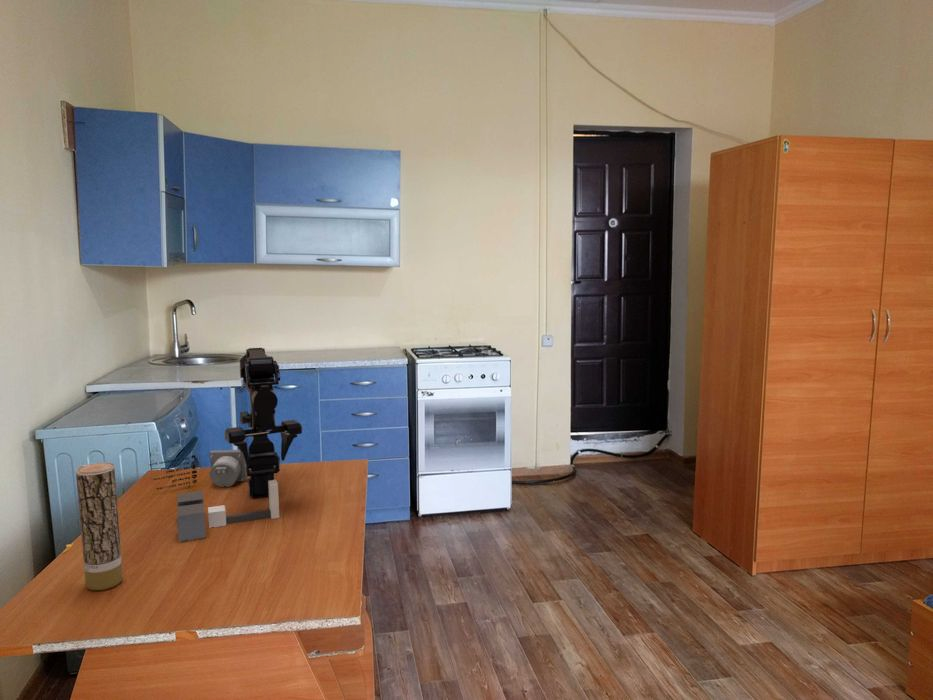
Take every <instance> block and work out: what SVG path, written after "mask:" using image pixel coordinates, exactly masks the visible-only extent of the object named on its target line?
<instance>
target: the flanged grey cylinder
mask: <svg viewBox="0 0 933 700" xmlns="http://www.w3.org/2000/svg"><path fill="white" fill-rule="evenodd" d="M208 453H209V462H210V466H211V467H210V471H209V479H210V481H211V483H212V484H214V485H216V486H217V487H220V488H229V487H231V486H233V485H234V484H235V483H236V482H248V477H247V473H246V464H245V461H244V459H243V456H242V454H241V451H240V450H239V449H228V450H227V449H226V450H225V449H224V450H223V449H222V450H221V449H217V450H213V449H212V450H211V451H209V452H208ZM190 457H191V460H193V462H191V464H192V466H191V467H192V471H191V472H190V471H188V472H186V473H185V472H183V473H177V474H172V475H168V476H161V477H157V478H153V481H156V480H157V481H158V480H162V479H166V478H168V479H170V478H173V477H176V476H178V477H179V476H184V475H188V474H189V475H190V474H191V477H190V476H188V477H187V476H185V477H184V478H181V477H180V478H178V479H177V478H175V479H174V480H171V482H172V483H174V482H177V481H184V480H190V479H191V478H192V479H193V480H192V483H193V484H196V483H197V482H198V481H197V480H196V478H197V477H198V475H197V474H198V473H197V472H198V471H197V469H196V464H194V463H195V461H196V455H194V454H192V455H191V456H190ZM190 457H183V458H181V460H182V461H185V460H189V459H190ZM179 461H180V458H178V459H174V460H173V459H171V460H165V461H161V462H160V461H159V465H160V464H161V465H163V464H165V463H166V464H169V463H173V462H179ZM189 464H190V461H187V462H183V463H182V462H180V463H177V464H173V467H179V466H182V465H184V466H185V465H189ZM154 465H156V466H157V465H158V462H156V461H155V463H149V467H152V466H154ZM182 470H190V467H188V466H186V467H183V468H176V469H172V473H173V472H174V473H175V471H176V472H178V471H182ZM169 473H171V470H170V469H169V470H166V474H169ZM185 484H186V485H187V484H189V485H187V486H186V488H191V485H190V484H191V481H188V482H184V483H183V482H182V483H178V484H171V485H167V486H164V487H163V486H162V487H161V490H163V489H166V488H168V489H169V488H173V487H177V485H178V486H183V485H184V486H185ZM224 486H226V487H224ZM156 490H160V487H157V488H156Z"/></svg>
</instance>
